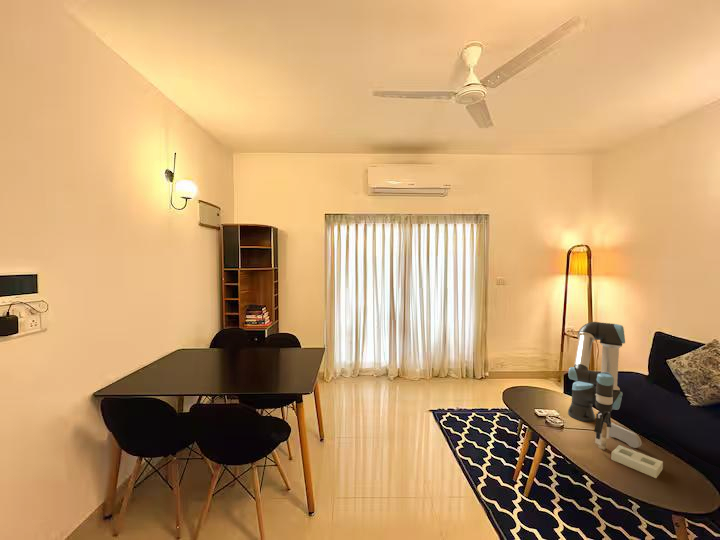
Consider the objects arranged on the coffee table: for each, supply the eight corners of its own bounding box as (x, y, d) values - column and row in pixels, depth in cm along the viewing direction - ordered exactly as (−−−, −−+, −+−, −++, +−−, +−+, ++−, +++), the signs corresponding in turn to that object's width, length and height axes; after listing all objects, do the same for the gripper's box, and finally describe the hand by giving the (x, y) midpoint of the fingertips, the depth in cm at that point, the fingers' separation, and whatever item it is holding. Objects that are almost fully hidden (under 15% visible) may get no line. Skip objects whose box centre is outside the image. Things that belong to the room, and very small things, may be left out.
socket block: (618, 452, 180) (619, 444, 180) (662, 469, 166) (662, 461, 166) (611, 459, 173) (611, 452, 173) (656, 478, 159) (656, 470, 159)
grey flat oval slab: (641, 450, 183) (642, 435, 183) (639, 451, 182) (639, 436, 182) (605, 432, 201) (605, 419, 201) (602, 433, 200) (603, 419, 200)
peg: (599, 445, 187) (600, 421, 186) (606, 448, 184) (608, 423, 183) (596, 447, 184) (598, 422, 184) (604, 450, 182) (605, 425, 181)
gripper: (603, 395, 193) (601, 431, 194) (588, 404, 179) (586, 444, 180) (619, 399, 187) (617, 437, 188) (604, 410, 173) (602, 450, 174)
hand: (602, 440), depth 184 cm, fingers open, 11 cm apart
